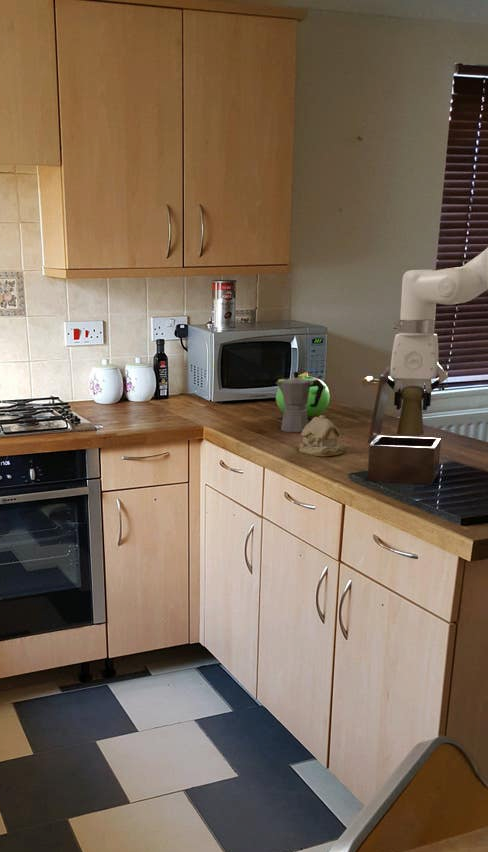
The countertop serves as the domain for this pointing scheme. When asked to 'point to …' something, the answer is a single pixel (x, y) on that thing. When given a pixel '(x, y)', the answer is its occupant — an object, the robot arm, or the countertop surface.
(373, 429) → the lid
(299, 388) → the coffeepot
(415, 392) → the cork
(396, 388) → the robot arm
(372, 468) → the chest
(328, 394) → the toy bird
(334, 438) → the ceramic model
